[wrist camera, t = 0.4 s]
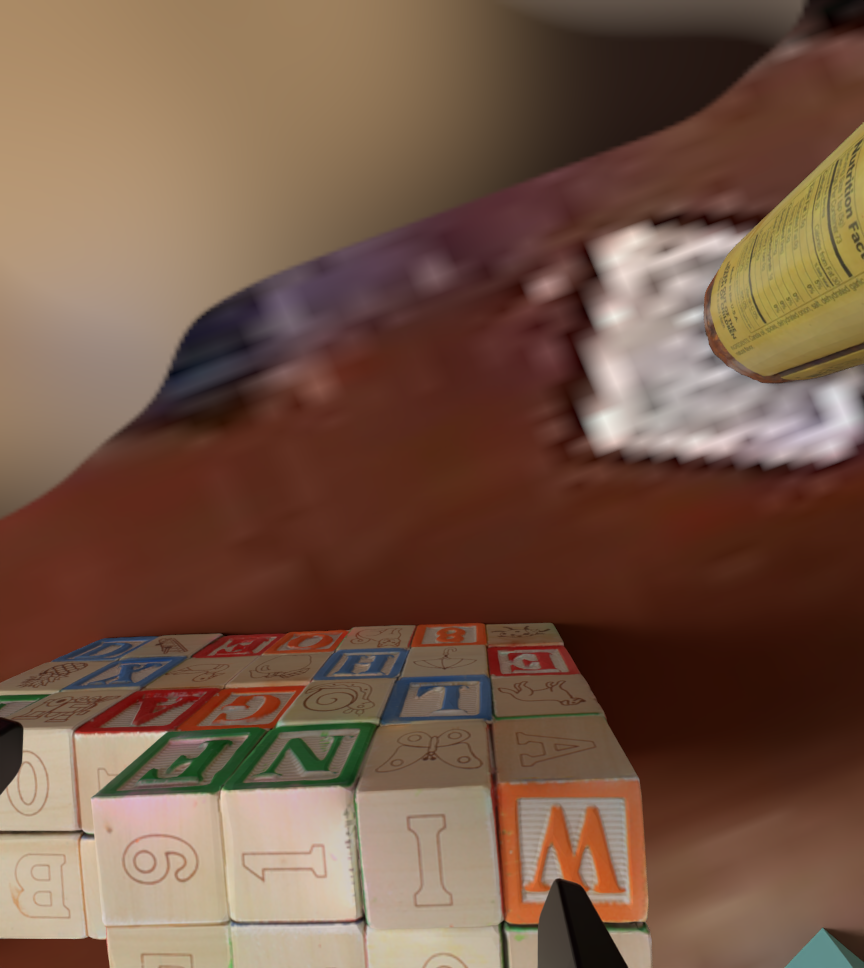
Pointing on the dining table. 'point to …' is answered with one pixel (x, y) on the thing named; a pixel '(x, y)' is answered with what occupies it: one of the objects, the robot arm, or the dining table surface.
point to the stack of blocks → (318, 799)
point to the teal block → (825, 954)
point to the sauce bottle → (797, 280)
